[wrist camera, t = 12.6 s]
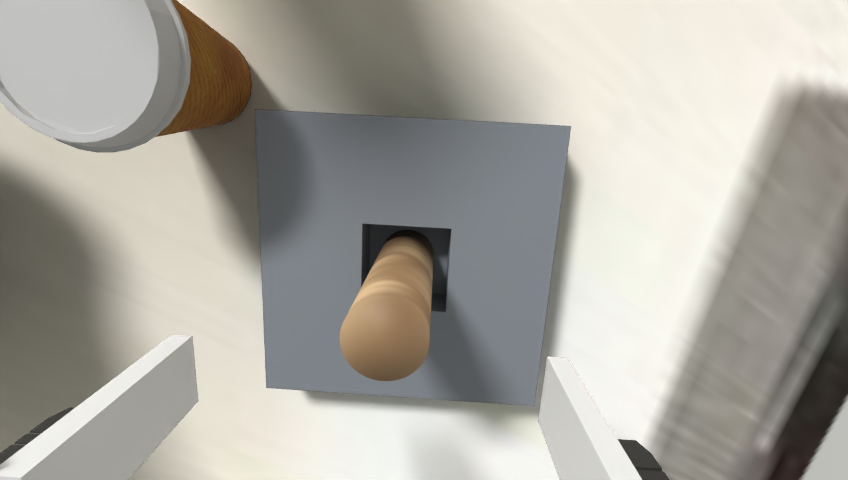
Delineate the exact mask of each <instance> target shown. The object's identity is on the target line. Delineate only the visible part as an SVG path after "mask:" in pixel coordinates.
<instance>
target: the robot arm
mask: <svg viewBox="0 0 848 480" xmlns="http://www.w3.org/2000/svg"><path fill="white" fill-rule="evenodd" d="M197 402H198V392H197V381H196V369H195V358H194V347H193V336H190V335H173V334H172V335H171V336H169V337H168V338H167V339H165V340H164V341H163V342H161V343H160V344H159V345H157V346H156V347H155V348H153V349H152V350H151V351H149V352H148V353H147V354H146V355H144V356H143V357H142V358H140V359H139V360H138V361H136V362H135V363H134V364H132V365H131V366H130V367H128V368H127V369H126V370H124V371H123V372H122V373H120V374H119V375H118V376H116V377H115V378H114V379H113V380H111V381H110V382H109V383H107V384H106V385H105V386H103V387H102V388H101V389H99V390H98V391H97V392H95V393H94V394H93V395H91V396H90V397H89V398H87V399H86V400H85V401H84V402H82V403H81V404H80V405H78V406H77V407H76V408H68V409H66V410H64V411H62V412H60V413H58V414H56V415H54V416H52V417H50V418H48V419H46V420H45V421H44V422H42V423H41V424H40V425H38V426H37V427H36V428H34V429H33V430H31V431H30V433H29V434H26V435H25V436H23V437H22V438H21V439H19V440H18V441H16V442H15V444H14V445H11V446H10V447H8V448H7V449H5V450H4V451H3V452H1V453H0V480H128V479H129V478H130V477H131V476H132V475H133V474H134V473H135V472H136V470H137V469H138V468H139V467H140V466H141V465H142V464H143V463H144V461H145V460H146V459H147V458H148V457H149V456H150V455H151V454H152V452H153V451H154V450H155V449H156V448H157V447H158V446H159V445H160V443H161V442H162V441H163V440H164V439H165V438H166V437H167V436H168V434H169V433H170V432H171V431H172V430H173V429H174V428H175V427H176V425H177V424H178V423H179V422H180V421H181V420H182V419H183V418H184V416H185V415H186V414H187V413H188V412H189V411H190V410H191V408H192V407H193V406H194V405H195V404H196V403H197ZM538 422H539V425H540V427H541V430H542V433H543V435H544V438H545V441H546V444H547V446H548V449H549V452H550V455H551V457H552V460H553V463H554V465H555V468H556V471H557V474H558V476H559V479H560V480H669V478H668V477H667V476H666V474H665V473H664V472H662V468H661V467H660V465H659V464H658V462H657V461H656V460H655V458H654V457H653V455H652V454H651V453H650V452H649V451H648V450H646V449H645V448H644V447H643V446H642V445H640V444H639V443H638V442H637V441H636V440H621V439H617V437H616V436H615V434H614V433H613V431H612V429H611V428H610V426H609V424H608V423H607V421H606V419H605V418H604V416H603V414H602V413H601V411H600V409H599V408H598V406H597V405H596V403H595V401H594V400H593V398H592V396H591V395H590V393H589V391H588V390H587V388H586V386H585V385H584V383H583V382H582V380H581V378H580V377H579V375H578V373H577V372H576V370H575V368H574V367H573V365H572V363H571V362H570V360H569V358H565V357H548V356H547V361H546V369H545V376H544V383H543V390H542V398H541V405H540V412H539V420H538Z"/></svg>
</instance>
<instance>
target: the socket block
mask: <svg viewBox="0 0 848 480" xmlns="http://www.w3.org/2000/svg"><path fill="white" fill-rule="evenodd" d="M255 130H256V154H257V177H258V201H259V225H260V249H261V273H262V297H263V320H264V344H265V368H266V388H276V389H291V390H306V391H320V392H335V393H350V394H365V395H380V396H394V397H409V398H424V399H439V400H453V401H468V402H483V403H498V404H513V405H527V406H534V403H535V395H536V388H537V380H538V373H539V365H540V358H541V350H542V342H543V335H544V327H545V320H546V312H547V305H548V297H549V289H550V282H551V274H552V267H553V259H554V252H555V244H556V236H557V229H558V221H559V214H560V206H561V199H562V191H563V183H564V176H565V168H566V161H567V153H568V146H569V138H570V130H571V126H560V125H541V124H522V123H504V122H485V121H466V120H448V119H429V118H410V117H391V116H373V115H354V114H335V113H317V112H298V111H279V110H260V109H255ZM401 230H414V231H417V232H419V233H421V234H423V235H424V236H425V237H426V238H427V239H428V240H429V241H430V243H431V245H432V248H433V252H434V261H433V280H432V300H431V320H430V340H429V350H428V353H427V356H426V358H425V360H424V362H423V363H422V365H421V366H420V367H419V368H418V369H417V370H416V371H415V372H414V373H412V374H411V375H409V376H407V377H405V378H402V379H399V380H395V381H377V380H373V379H370V378H367V377H365V376H363V375H361V374H360V373H358V372H357V371H356V370H354V369H353V368H352V367H351V366H350V365H349V363H348V362H347V361H346V359H345V357H344V355H343V353H342V350H341V347H340V330H341V327H342V324H343V322H344V320H345V318H346V316H347V314H348V312H349V310H350V308H351V306H352V304H353V303H354V301H355V299H356V297H357V295H358V293H359V291H360V289H361V287H362V285H363V283H364V282H365V280H366V278H367V276H368V274H369V272H370V270H371V268H372V266H373V264H374V262H375V260H376V259H377V257H378V255H379V253H380V251H381V249H382V247H383V245H384V243H385V241H386V240H387V239H388V238H389V237H390V236H391V235H392V234H394V233H395V232H398V231H401Z"/></svg>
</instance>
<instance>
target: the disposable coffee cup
mask: <svg viewBox="0 0 848 480" xmlns="http://www.w3.org/2000/svg"><path fill="white" fill-rule="evenodd" d="M250 94H251V75H250V71H249V67H248V65H247V63H246V60H245V58H244V57H243V55H242V54H241V52H240V51H239V50H238V49H237V48H236V47H235V46H234V45H233V44H232V43H231V42H229V41H228V40H227V39H225V38H224V37H223V36H221V35H220V34H219V33H218V32H216V31H215V30H214V29H212V28H211V27H210V26H209V25H207V24H206V23H205V22H204V21H202V20H201V19H200V18H198V17H197V16H196V15H194V14H193V13H192V12H191V11H190V10H188V9H187V8H186V7H184V6H183V5H182V4H180V3H179V2H178V1H177V0H0V102H1V103H2V104H3V105H4V106H5V107H6V108H7V109H8V110H9V112H10V113H12V114H13V115H14V116H16V117H17V118H18V119H20V120H21V121H22V122H24V123H25V124H26V125H28V126H29V127H31V128H32V129H35V130H37V131H39V132H41V133H43V134H45V135H47V136H49V137H53V138H54V139H56V140H58V141H60V142H62V143H65V144H67V145H70V146H72V147H75V148H78V149H82V150H87V151H92V152H118V151H123V150H129V149H131V148H134V147H136V146H139V145H142V144H144V143H146V142H148V141H149V140H151V139H152V138H154V137H157V136H162V135H168V134H173V133H178V132H183V131H189V130H193V129H199V128H204V127H209V126H214V125H221V124H225V123H227V122H230V121H232V120H233V119H235V118H236V117H237V116H239V115H240V113H241V112H242V111H243V110H244V108H245V106H246V104H247V103H248V100H249V97H250Z"/></svg>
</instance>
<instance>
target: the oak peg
mask: <svg viewBox="0 0 848 480" xmlns="http://www.w3.org/2000/svg"><path fill="white" fill-rule="evenodd" d="M433 261H434V252H433V248H432V245H431V243H430V241H429V240H428V239H427V238H426V237H425V236H424V235H423V234H421V233H419V232H417V231H414V230H401V231H398V232H395V233H394V234H392V235H391V236H390V237H389V238H388V239H387V240H386V241H385V243H384V245H383V247H382V249H381V251H380V253H379V255H378V257H377V259H376V260H375V262H374V264H373V266H372V268H371V270H370V272H369V274H368V276H367V278H366V280H365V282H364V283H363V285H362V287H361V289H360V291H359V293H358V295H357V297H356V299H355V301H354V303H353V304H352V306H351V308H350V310H349V312H348V314H347V316H346V318H345V320H344V322H343V324H342V327H341V330H340V347H341V350H342V353H343V355H344V357H345V359H346V361H347V362H348V363H349V365H350V366H351V367H352V368H353V369H354V370H356V371H357V372H358V373H360V374H361V375H363V376H365V377H367V378H370V379H373V380H377V381H395V380H399V379H402V378H405V377H407V376H409V375H411V374H412V373H414V372H415V371H416V370H417V369H418V368H419V367H420V366H421V365H422V363H423V362H424V360H425V358H426V356H427V353H428V350H429V340H430V320H431V300H432V280H433Z"/></svg>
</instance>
